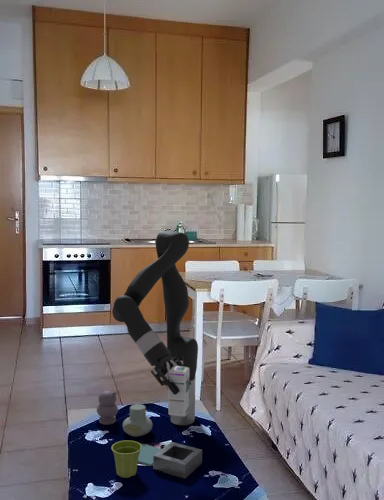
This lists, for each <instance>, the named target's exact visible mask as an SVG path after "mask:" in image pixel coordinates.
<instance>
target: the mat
mask: <svg viewBox="0 0 384 500" xmlns="http://www.w3.org/2000/svg"><path fill="white" fill-rule="evenodd" d="M140 444H141V445H142V449H141V450H140V453H139V457H138V463H139V464H142V465H146V466H148V467H153V456H154V455H155V454H157V453H158V452H159V451H160V450H162V449H163V448H159V447H157V446H156V447H155V446H152V445H148V444H145V443H140Z"/></svg>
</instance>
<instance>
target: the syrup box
mask: <svg viewBox="0 0 384 500" xmlns="http://www.w3.org/2000/svg"><path fill="white" fill-rule="evenodd" d="M169 376H170V377H171V378H172V382H174V383H175V384H176V386H177V387H178V388H179V390H180V391H179V392H178V393H177V394H176V395H174V394H173V393H172V391H171V390H170V389H169V387H168V386H167V387H168V389H167V390H168V393H167V395H168V397H167V398H168V399H167V401H168V402H167V403H168V407H167V409H168V410H167V411H168V413H167V414H168V415H169V416H171V415H174V416H184V417H185V416H186V414H187V413H188V411H189V367H184V366H173V368H171V369H170V371H169Z"/></svg>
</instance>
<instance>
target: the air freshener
mask: <svg viewBox="0 0 384 500" xmlns="http://www.w3.org/2000/svg"><path fill="white" fill-rule="evenodd" d="M146 412H147V407H146V405H144V404H141V403H137V404H136V403H135V404H132V405H131V406H130V407H129V417H127V418H125V419H124V420H123V422H122V429H123V431H124V433H126V434H128V436H132V437H135V438H136V437H142V436H145V435H147V434H148V433H150V432H151V430H152V428H153V422H152V419H150V418H149V417H148V416H147V413H146Z"/></svg>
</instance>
